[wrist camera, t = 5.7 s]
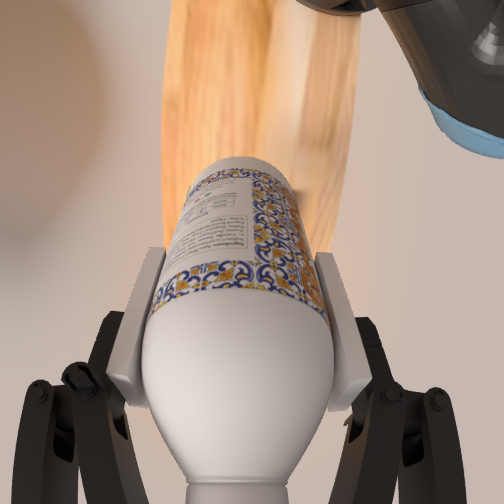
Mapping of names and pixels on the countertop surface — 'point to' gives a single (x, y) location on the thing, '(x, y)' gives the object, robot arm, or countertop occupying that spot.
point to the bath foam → (238, 338)
